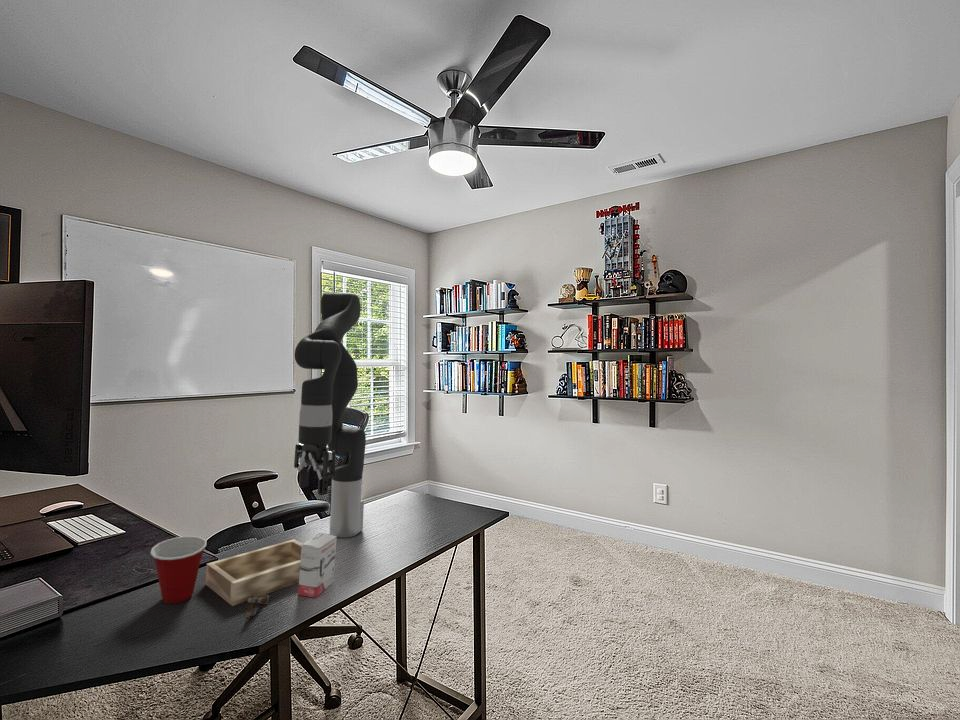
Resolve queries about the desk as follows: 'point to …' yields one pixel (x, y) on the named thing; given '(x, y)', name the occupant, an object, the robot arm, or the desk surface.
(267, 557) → the trough
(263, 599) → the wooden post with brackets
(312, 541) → the ink box
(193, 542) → the plastic cup
